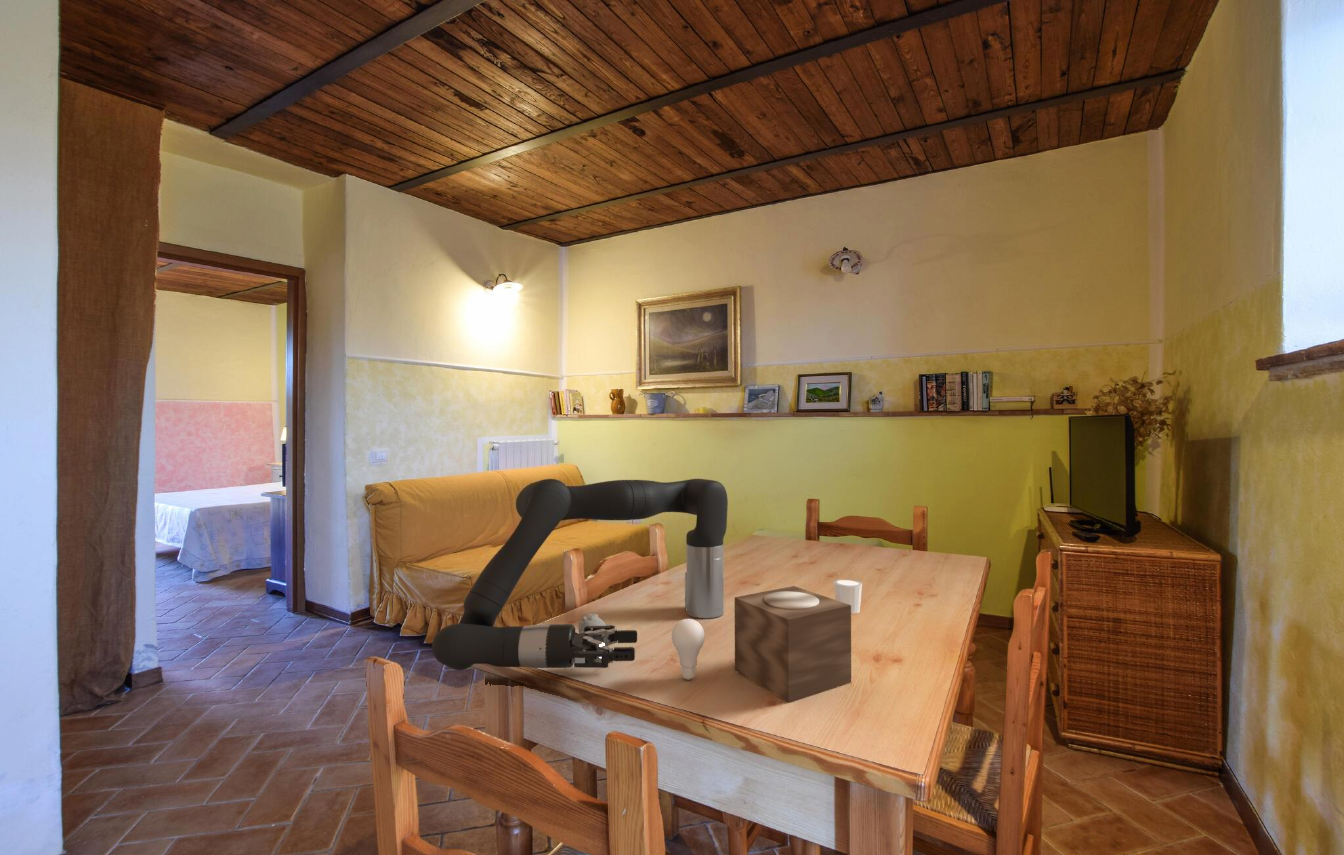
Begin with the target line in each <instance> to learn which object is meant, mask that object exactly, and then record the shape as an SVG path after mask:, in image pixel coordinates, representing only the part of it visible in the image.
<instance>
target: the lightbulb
mask: <svg viewBox="0 0 1344 855" xmlns="http://www.w3.org/2000/svg"><path fill="white" fill-rule="evenodd" d="M705 639H706V633H705V630H704V628H703V626H702V625H701V624H700V623H699V622H698V621H697V620H695V619H692V618H684V619H681V620H679V621H677V623H676V624H674V626H673V629H672V630H671V642H672V644H673V647H674V648H675V650H676V652H677V655H678V658H679V665H680V668H681V669H680V672H681V677H682V678H684V679H685V680H688V681H690V680H692V679H693V678H695V676H696V668H697V667H696V666H697V664H698V657H699V653H700V651H701V649H702V648H703V645H704V643H705Z"/></svg>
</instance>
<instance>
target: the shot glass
mask: <svg viewBox="0 0 1344 855" xmlns="http://www.w3.org/2000/svg"><path fill="white" fill-rule="evenodd" d="M833 585H834V594H835V595H834V596H835V597H834V599H835V600H837V601H840V602H843V603H846V604H849V605H851V615H853V614H854V615H855V614H859V613H860V612H861V602H862V601H861V600H862V593H863V583H862V582H861V581H859V580H855V579H836V580H834V582H833Z"/></svg>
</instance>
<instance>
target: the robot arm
mask: <svg viewBox="0 0 1344 855" xmlns="http://www.w3.org/2000/svg"><path fill="white" fill-rule="evenodd" d="M727 493H728V492H727V491H726V488H725V486H724V484H722V483H721V482H720V481H718V480H714V479H705V478H691V479H686V480H685V479H684V480H677V481H668V482H662V481H655V480H648V479H617V480H608V481H607V480H606V481H600V482H595V483H588V484H585V485H566V483H564V482H563V481H561V480H558V479H555V478H544V479H541V480H538V481H534V482H532V483H529V484H528V485H526V486H524V487H523V488H522V490H520V492H519V493H518V495H517V497H516V500H515V509H516V512H517V514H518V515H519V517H520V521H519V523H518V525H517V526H516V528H515V529H514V531H513V532H512V534H511V535H510V536H509V538H508V539H507V540H506V541H505V543H504V544H503V545H502V546H501V548H500V549H499V550H497V552H496V554H495V555H494V556H493V557H492V558H491V559H490V560H489V561H488V563H487V564H486V565H485V567H484V568H483V569H482V570H481V572H480V574H479V576H478V577H477V579H476V580H475V581H474V584H473V585H472V587H471V588H470V590H469V592H468V593H467V595H466V597H465V598H464V601H463V615H462V616H461V619H460V620H459V623H454V624H449V625H447V626H444V627H443V628H441V629H440V630H439V631H438V632H437V633H436V635H435V636H434V638H433V640H432V644H431V651H432V654H433V656H434V658H435V659H436V661H438V662H439V663H440V664H442V665H444V666H446V667H448V668H450V669H452V670H456V671H464V670H467V669H469V668H471V667H472V666H473V665H475V664H476V665H480V664H481V665H485V664H487V665H490V666H492V667H493V666H494V667H498V668H529V669H564V668H565V669H569V668H572V667H574V668H577V669H578V668H585V669H587V668H589V669H590V668H598V669H601V668H602V669H604V668H605V669H606V668H609V664H613V663H614V662H633V661H635V658H636V650H635V647H634V646H618V647H615V646H614V647H612V646H610V645H614V644H636V643H637V642H638V631H637V630H635V629H628V630H627V629H626V630H625V629H624V630H623V629H622V630H621V629H619V630H618V629H617V628H616V626H615V625H612V624H611V625H606V626H585V627H584V633H579V632H578V633H577V632H576V627H575V625H574V624H573V623H572V624H571V623H566V624H564V623H563V624H562V623H561V624H559V623H558V624H556V623H555V624H545V623H544V624H531V625H522V626H521V625H519V626H518V625H514V626H512V625H509V626H494V625H495V623H496V621H497V618H498V616H499V615H500V613H501V612H502V610H503V608H504V607H505V605H506V603H508V602H507V601H508V600H509V599H510V596H511V594H512V593H513V591H514V589H515V587H516V585H517V584H518V582H519V580H520V579H521V578H522V575H523V574H524V573H525V571H526V569H527V568H528V566H529V564H530V563H531V561H533V558H534V557H535V555H536V554H537V553H538V551H539V550H540V548H541V547H542V545H543V544H544V543H545V541H547V538H548V537H549V536H550V535H551V534H552V532H553V531H554V530H555V529H556V528H557V527H558V525H559V524H560V523H561V522H562V521H569V520H594V521H595V520H596V521H637V520H644V519H648V518H651V517H655V516H657V515H659V514H663V513H680V514H681V513H683V514H689V515H695V516H696V520H695V521H696V522H695V523H696V524H695V527H694V529H691V530H689V531H687V533H686V535H685V536H686V541H685V542H686V544H685V546H686V553H685V555H686V571H685V573H684V581H685V582H684V608H685V609H687V610H686V614H687V615H688V616H690V617H693V618H697V617H698V619H714V618H718V617H721V616H722V615H724V609H725V608H724V607H725V606H724V605H725V604H724V599H725V598H724V597H725V596H724V593H725V591H724V590H725V589H724V586H725V585H724V581H725V580H724V579H725V578H724V570H725V568H724V538H725V535H726V532H727V527H728V526H727V525H728V503H729V501H728V500H729V499H728V494H727ZM685 609H684V610H685Z"/></svg>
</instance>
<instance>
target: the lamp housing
mask: <svg viewBox="0 0 1344 855" xmlns="http://www.w3.org/2000/svg"><path fill="white" fill-rule="evenodd" d="M734 672H736V673H738V674H739V675H741V676H743V677H745V678H747V679H748V680H750V681H751V682H754V683H755V684H756V685H758V686H760V687H761V688H763V689H765V690H766V691H768V692H770V693H772V694H773V695H775V696H776V697H778V698H780V699H781V700H783V701H784V702H787V703H788V704H789V703H792V702H795V701H799V700H802V699H804V698H808V697H811V696H814V695H817V694H820V693H824V692H826V691H828V690H832V689H835V688H837V687H842V686H845V685H847V684H850V683H851V684H852V614H851V605H849V604H846V603H843V602H840V601H837V600H836V599H835V598H830V597H829V596H828V597H827V596H824V595H821V594H820V593H816V592H812V591H810V590H807V589H805V588H804V589H803V588H801V587H798V586H795V585H793V586H787V587H782V588H776V589H770V590H766V591H765V590H764V591H761V592H755V593H750V594H749V593H748V594H745V595H739V596H735V597H734Z"/></svg>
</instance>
